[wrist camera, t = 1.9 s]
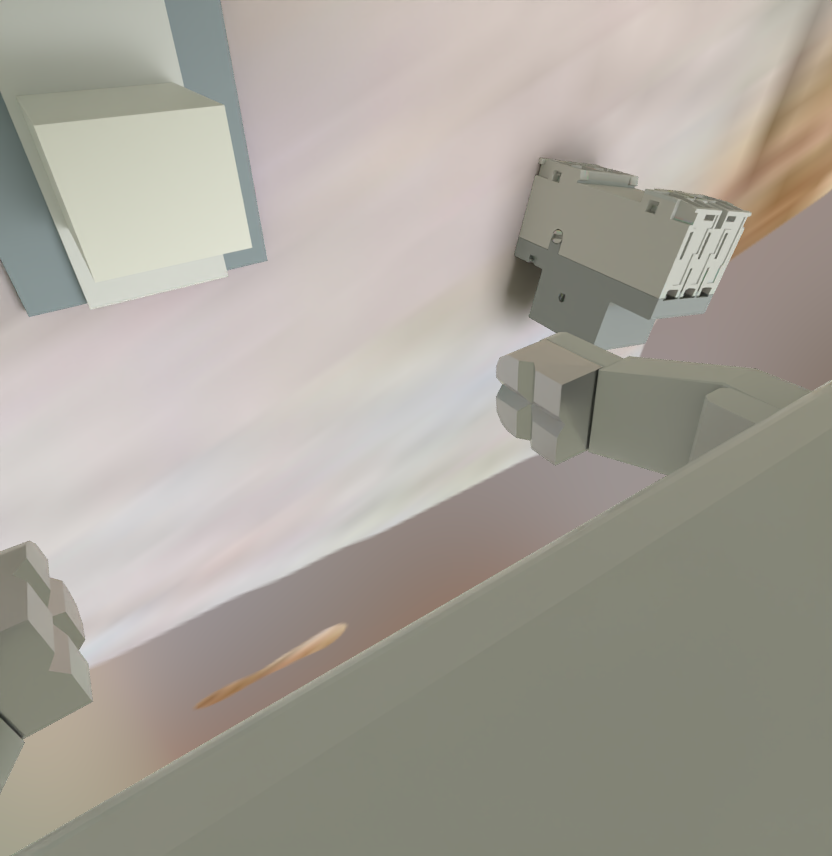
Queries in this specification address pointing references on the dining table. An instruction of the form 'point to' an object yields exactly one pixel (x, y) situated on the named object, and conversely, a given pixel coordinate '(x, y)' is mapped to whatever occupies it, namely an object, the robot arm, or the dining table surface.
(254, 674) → the dining table surface
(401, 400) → the dining table surface
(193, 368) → the dining table surface
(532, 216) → the circuit breaker
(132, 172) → the mounting panel
